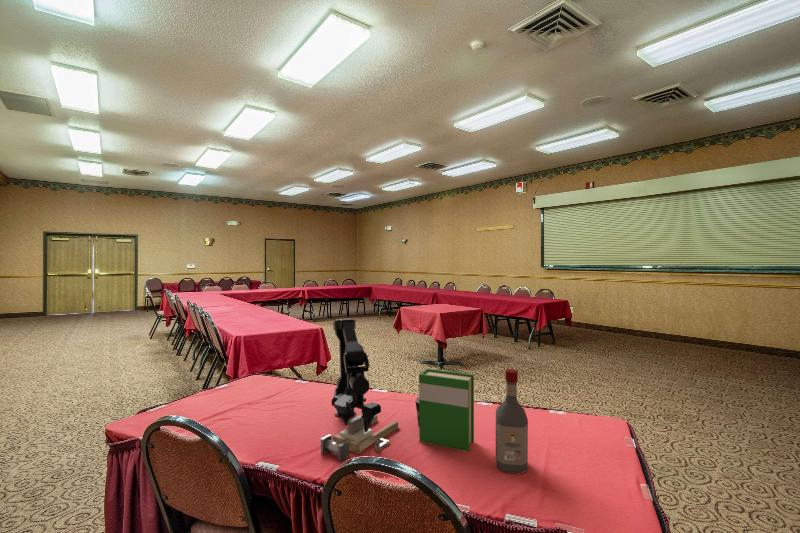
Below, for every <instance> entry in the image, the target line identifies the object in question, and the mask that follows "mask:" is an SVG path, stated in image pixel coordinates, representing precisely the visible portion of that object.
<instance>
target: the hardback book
mask: <svg viewBox="0 0 800 533" xmlns="http://www.w3.org/2000/svg"><path fill="white" fill-rule="evenodd" d="M418 397H419V426H418V428H419V433H418V434H419V435H418V437H419V443H420V442H422V443H425V444H430V443H431V444H430V445H434V444H435V446H439V447H444V448H449V449H454V450H458V451H463V452H467V453H468V452H469V451H470V444H474V442H475V416H474V414H475V374H474V373H473V374H472V373H463V372H457V371H450V370H442V369H434V368H425V369H424V370H423V371H422V372H420V373H419V374H418Z"/></svg>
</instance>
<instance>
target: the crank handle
mask: <svg viewBox="0 0 800 533" xmlns="http://www.w3.org/2000/svg"><path fill="white" fill-rule="evenodd" d="M388 445H390V440H388V439H386V438H384V437H383V438H381V437H380V438H378V440H377V441H376V442H375V448H374V449H375V451H377V452H378V451H381V450H382V449H384V448H385V447H387V446H388Z"/></svg>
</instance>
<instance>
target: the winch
mask: <svg viewBox="0 0 800 533" xmlns="http://www.w3.org/2000/svg"><path fill="white" fill-rule="evenodd" d="M328 452H332V453H334V454H336V455H337V461H338V462H342V461H344V460H346V459H347V458H348V457H347V456H349V457H350V451H349V441H345V442H343V443H342V444H340V443H337V442H335V441H333V435H332V434H330V433H329V434H326V435H325V436H323V437H321V438H320V454H322V455H324V454H326V453H328ZM346 457H347V458H346ZM345 458H346V459H345Z"/></svg>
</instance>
